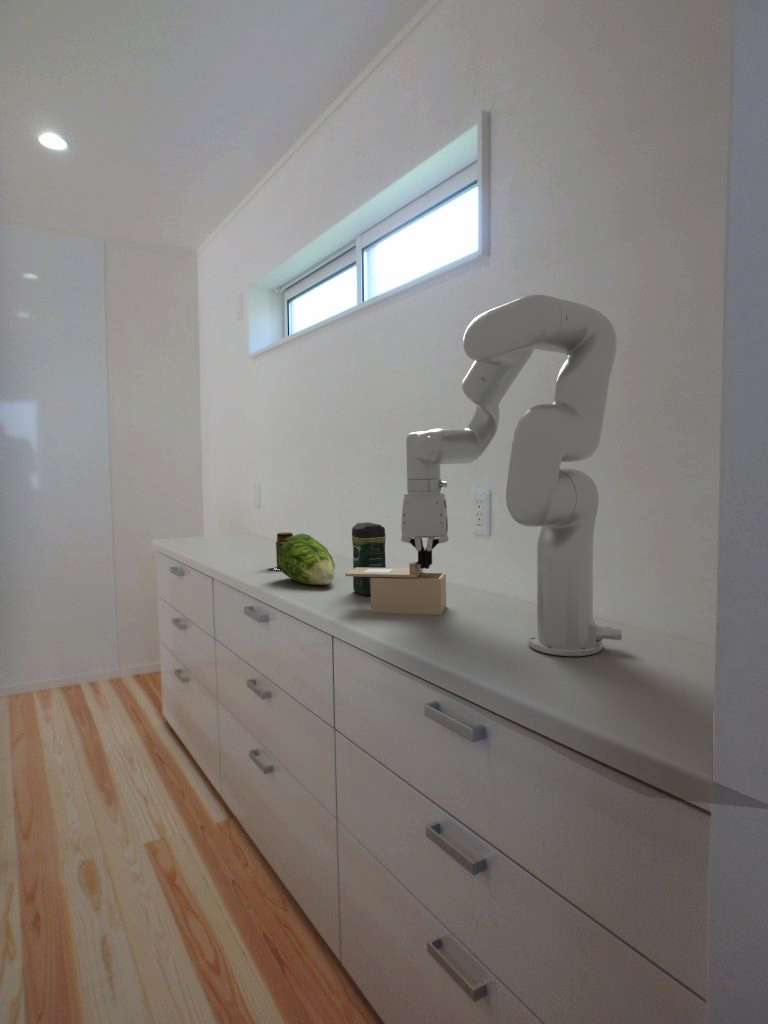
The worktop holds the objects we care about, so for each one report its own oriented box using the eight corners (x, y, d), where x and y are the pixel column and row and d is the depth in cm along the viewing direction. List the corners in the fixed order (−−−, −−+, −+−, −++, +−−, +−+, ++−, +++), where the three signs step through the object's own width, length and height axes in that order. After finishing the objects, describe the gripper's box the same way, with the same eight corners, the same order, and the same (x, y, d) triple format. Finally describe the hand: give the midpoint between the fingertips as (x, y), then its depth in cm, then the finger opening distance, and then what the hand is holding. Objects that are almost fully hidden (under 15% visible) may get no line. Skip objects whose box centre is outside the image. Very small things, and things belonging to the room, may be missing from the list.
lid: (423, 570, 138) (422, 558, 138) (416, 577, 130) (415, 564, 130) (356, 569, 142) (355, 557, 142) (345, 576, 134) (344, 563, 134)
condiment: (300, 568, 197) (299, 532, 196) (279, 572, 191) (277, 535, 190) (287, 566, 202) (286, 531, 201) (266, 569, 196) (265, 533, 195)
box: (446, 606, 137) (445, 572, 137) (441, 615, 130) (440, 579, 129) (379, 604, 141) (379, 571, 141) (371, 612, 133) (370, 577, 133)
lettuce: (308, 607, 159) (304, 562, 155) (274, 577, 178) (270, 536, 174) (353, 593, 166) (350, 549, 162) (316, 566, 185) (313, 526, 181)
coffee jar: (391, 594, 152) (389, 523, 151) (362, 597, 149) (360, 525, 148) (376, 587, 161) (375, 520, 160) (349, 590, 158) (347, 522, 157)
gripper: (459, 486, 134) (460, 565, 136) (395, 487, 138) (397, 564, 139) (454, 487, 127) (455, 571, 128) (387, 488, 131) (389, 570, 132)
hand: (425, 567), depth 134 cm, fingers closed
